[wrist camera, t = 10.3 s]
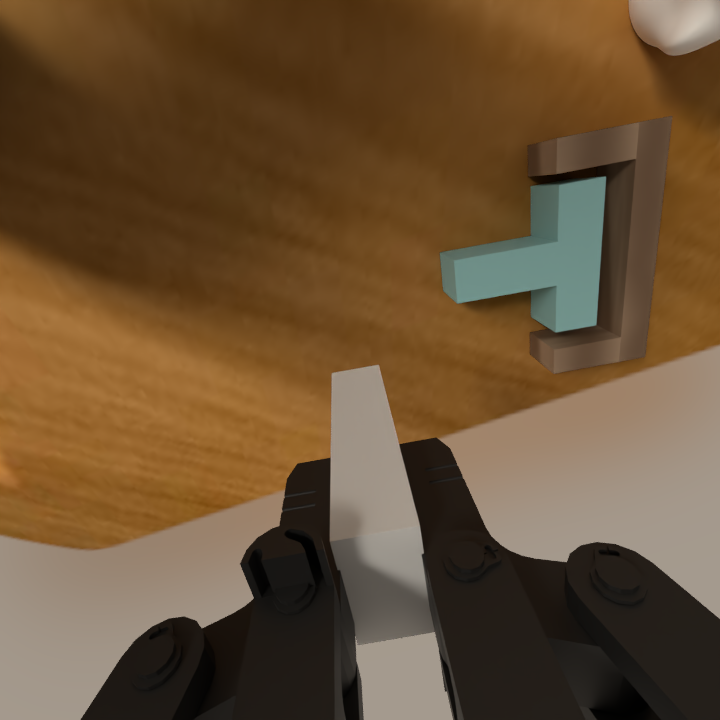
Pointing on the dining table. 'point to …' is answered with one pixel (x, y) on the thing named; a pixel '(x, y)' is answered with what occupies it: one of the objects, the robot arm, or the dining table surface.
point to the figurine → (676, 23)
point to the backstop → (612, 239)
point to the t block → (541, 257)
